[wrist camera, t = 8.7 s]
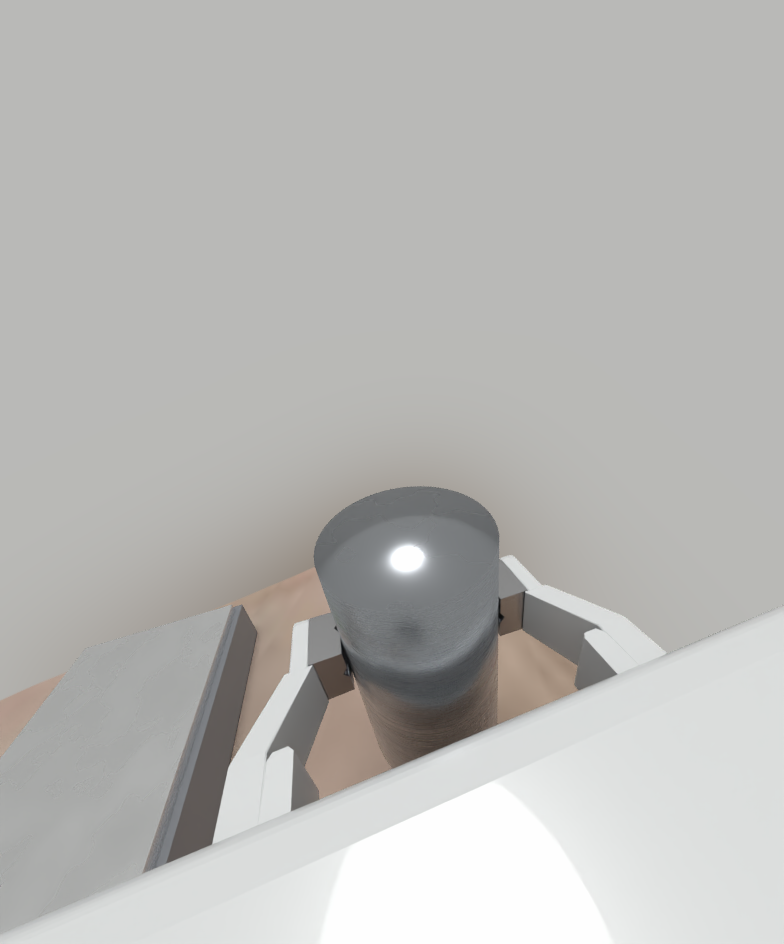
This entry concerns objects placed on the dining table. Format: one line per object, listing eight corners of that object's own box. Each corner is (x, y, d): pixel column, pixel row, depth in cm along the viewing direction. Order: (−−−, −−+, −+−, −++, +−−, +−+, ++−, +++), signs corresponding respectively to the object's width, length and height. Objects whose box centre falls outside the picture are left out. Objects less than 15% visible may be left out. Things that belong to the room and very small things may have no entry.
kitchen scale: (-150, 1105, 12) (-288, 1113, 10) (119, 670, 27) (88, 638, 25) (190, 949, 14) (135, 928, 11) (258, 626, 29) (240, 593, 27)
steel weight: (388, 820, 9) (313, 643, 5) (364, 666, 14) (314, 509, 10) (526, 759, 10) (546, 566, 6) (460, 632, 14) (449, 474, 11)
